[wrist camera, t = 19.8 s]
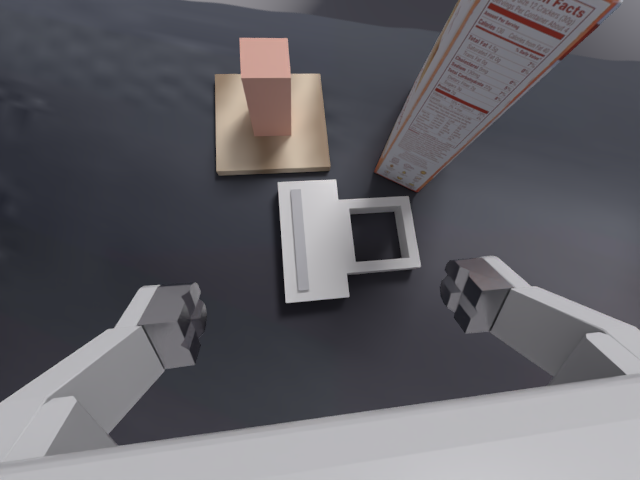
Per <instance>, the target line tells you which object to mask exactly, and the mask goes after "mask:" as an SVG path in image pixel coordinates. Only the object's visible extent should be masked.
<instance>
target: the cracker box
mask: <svg viewBox="0 0 640 480" xmlns="http://www.w3.org/2000/svg"><path fill="white" fill-rule="evenodd" d="M622 3H623V0H458V2H457V4H456V6H455V7H454V10H453V11H452V13H451V15H450V17H449V19H448V21H447V23H446V24H445V26H444V28H443V30H442V32H441V34H440V36H439V38H438V39H437V41H436V43H435V45H434V47H433V49H432V51H431V53H430V54H429V56H428V58H427V60H426V62H425V64H424V66H423V68H422V69H421V71H420V73H419V75H418V77H417V79H416V81H415V83H414V85H413V87H412V89H411V91H410V93H409V95H408V97H407V100H406V102H405V104H404V106H403V108H402V110H401V112H400V115H399V117H398V119H397V121H396V123H395V125H394V128H393V130H392V132H391V134H390V136H389V139H388V141H387V143H386V145H385V148H384V150H383V152H382V154H381V157H380V159H379V161H378V164H377V166H376V168H375V171H374V173H376V174H378V175H381V176H383V177H385V178H387V179H389V180H391V181H393V182H395V183H398V184H400V185H402V186H404V187H406V188H408V189H411V190H413V191H415V192H419V191H420V190H421V189H422V188H423V187H424V186H425V185H426V184H427V183H428V182H429V181H430V180H432V179H433V178H434V177H435V176H436V175H437V174H438V173H439V172H440V171H441V170H442V169H443V168H445V167H446V166H447V165H448V164H449V163H450V162H451V161H452V160H453V159H454V158H455V157H456V156H458V155H459V154H460V153H461V152H462V151H463V150H464V149H465V148H466V147H467V146H468V145H470V144H471V143H472V142H473V141H474V140H475V139H476V138H477V137H478V136H479V135H480V134H482V133H483V132H484V131H485V130H486V129H487V128H488V127H489V126H490V125H491V124H492V123H493V122H495V121H496V120H497V119H498V118H499V117H500V116H501V115H502V114H503V113H504V112H505V111H506V110H508V109H509V108H510V107H511V106H512V105H513V104H514V103H515V102H516V101H517V100H518V99H520V98H521V97H522V96H523V95H524V94H525V93H526V92H527V91H528V90H529V89H530V88H532V87H533V86H534V85H535V84H536V83H537V82H538V81H539V80H540V79H541V78H542V77H544V76H545V75H546V74H547V73H548V72H549V71H550V70H551V69H552V68H553V67H554V66H556V65H557V64H558V63H559V62H560V61H561V60H562V59H563V58H564V57H565V56H566V55H568V54H569V53H570V52H571V51H572V50H573V49H574V48H575V47H576V46H577V45H578V44H579V43H580V42H582V41H583V40H584V39H585V38H586V37H587V36H588V35H589V34H591V33H592V32H593V31H594V30H595V29H596V28H597V27H598V26H599V25H600V24H601V23H602V22H603V21H604V20H605V19H606V18H608V17H609V15H611V14H612V13H613V12H614V11H615V10H616V9H617V8H618V7H619V6H620V5H621V4H622Z"/></svg>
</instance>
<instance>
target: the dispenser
mask: <svg viewBox="0 0 640 480" xmlns="http://www.w3.org/2000/svg"><path fill="white" fill-rule="evenodd" d="M278 194H279V209H280V224H281V239H282V255H283V270H284V285H285V300H286V303H294V302H304V301H315V300H325V299H335V298H346V297H350V296H349V287H348V279H347V275H353V274H364V273H376V272H387V271H399V270H410V269H415V268H419V267H421V264H420V258H419V252H418V247H417V241H416V235H415V230H414V224H413V218H412V212H411V207H410V201H409V196H398V197H380V198H362V199H345V200H338V192H337V184H336V179H335V180H314V181H293V182H278ZM382 212H394V214H395V220H396V226H397V232H398V238H399V245H400V251H401V257H402V258H399V259H387V260H375V261H363V262H356V260H355V252H354V244H353V236H352V228H351V220H350V214H366V213H382Z"/></svg>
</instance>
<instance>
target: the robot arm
mask: <svg viewBox="0 0 640 480" xmlns="http://www.w3.org/2000/svg"><path fill="white" fill-rule="evenodd" d="M445 271H446V273H447V276H446V277H445V278H444V279H443V280H442V281H441V285H440V294H441V298H442V300H443V302H444V304H445V305H446V307H447V308H449V309H451V310H452V311H454V312H455V313H454V318H455V320H456V321H457V323H458V324H459V325H460V327H461V328H462V330H463V331H464V333H465V334H466V333H477V332H489V331H491V332H490V333H492V334H493V335H494V336H496V337H497V338H499V339H500V340H502V341H503V342H505V343H506V344H507V345H509V346H510V347H512V348H513V349H515V350H516V351H517V352H519V353H520V354H522V355H523V356H525V357H526V358H528V359H529V360H530V361H532V362H533V363H535V364H536V365H538V366H539V367H541V368H542V369H543V370H545V371H546V372H548V373H549V374H551V375H552V376H553V378H552V380H551V381H550V382H549V384H548V385H547V386H544V387H537V388H530V389H523V390H516V391H508V392H501V393H494V394H487V395H480V396H473V397H466V398H459V399H451V400H444V401H437V402H430V403H423V404H415V405H408V406H401V407H394V408H387V409H379V410H372V411H365V412H358V413H351V414H343V415H336V416H329V417H322V418H315V419H308V420H301V421H293V422H286V423H279V424H272V425H265V426H258V427H251V428H243V429H236V430H229V431H222V432H215V433H208V434H201V435H193V436H186V437H179V438H172V439H165V440H158V441H151V442H143V443H136V444H129V445H122V446H118V445H117V444H116V443H115V441H114V440H113V439H112V438H111V437H110V436H109V435H108V434H109V433H110V431H111V430H112V429H113V428H114V427H115V426H116V425H117V424H118V423H119V421H120V420H121V419H122V418H123V417H124V416H125V415H126V414H127V412H128V411H129V410H130V409H131V408H132V407H133V406H134V405H135V403H136V402H137V401H138V400H139V399H140V398H141V397H142V396H143V394H144V393H145V392H146V391H147V390H148V389H149V388H150V387H151V385H152V384H153V383H154V382H155V381H156V380H157V379H158V378H159V376H160V375H161V374H162V373H163V372H164V369H169V368H176V367H183V366H190V365H195V363H196V360H197V357H198V353H199V350H200V346H201V344H200V342H199V339H198V338H199V337H200V336H201V335H202V334H203V333H204V332H205V328H206V321H207V313H206V307H205V304H204V302H202V301H201V300H199V296H200V293H201V292H200V289H199V286H198V284H197V283H195V282H192V283H177V284H162V285H151V286H143V287H141V288H140V289H139V290H138V291H137V293H136V295H135V296H134V298H133V299H132V301H131V303H130V304H129V306H128V307H127V309H126V310H125V312H124V314H123V315H122V317H121V318H120V320H119V321H118V323H117V325H116V326H115V328H114V329H108V330H106V331H105V332H103V333H102V334H100V335H99V336H97V337H96V338H94V339H93V340H92V341H90V342H89V343H87V344H86V345H84V346H83V347H81V348H80V349H78V350H77V351H75V352H74V353H72V354H71V355H70V356H68V357H67V358H65V359H64V360H62V361H61V362H59V363H58V364H56V365H55V366H53V367H52V368H51V369H49V370H48V371H46V372H45V373H43V374H42V375H40V376H39V377H37V378H36V379H34V380H33V381H31V382H30V383H29V384H27V385H26V386H24V387H23V388H21V389H20V390H18V391H17V392H15V393H14V394H12V395H11V396H10V397H8V398H7V399H5V400H4V401H2V402H1V403H0V480H640V330H638V329H637V328H636V327H634V326H632V325H629V324H627V323H624V322H622V321H619V320H617V319H615V318H612V317H610V316H607V315H605V314H602V313H600V312H598V311H595V310H593V309H590V308H588V307H585V306H583V305H580V304H578V303H576V302H573V301H571V300H568V299H566V298H563V297H561V296H559V295H556V294H554V293H551V292H549V291H546V290H544V289H542V288H539V287H537V286H533V287H531V286H530V285H529V284H528V283H527V282H526V281H524V280H523V279H522V278H521V277H520V276H519V275H517V274H516V273H515V272H514V271H513V270H512V269H511V268H509V267H508V266H507V265H506V264H505V263H504V262H502V261H501V260H500V259H499V258H498V257H495V256H485V257H478V258H469V259H458V260H449V262H448V263H447V264H446V267H445Z"/></svg>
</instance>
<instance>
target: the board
mask: <svg viewBox="0 0 640 480" xmlns="http://www.w3.org/2000/svg"><path fill="white" fill-rule="evenodd" d="M215 107H216V172H217V173H218V175H219V176H224V175H247V174H270V173H293V172H316V171H329V170H330V158H329V149H328V141H327V132H326V123H325V114H324V105H323V96H322V87H321V78H320V74H291V135H288V136H254V132H253V127H252V123H251V119H250V114H249V110H248V106H247V101H246V97H245V93H244V88H243V84H242V80H241V74H215Z"/></svg>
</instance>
